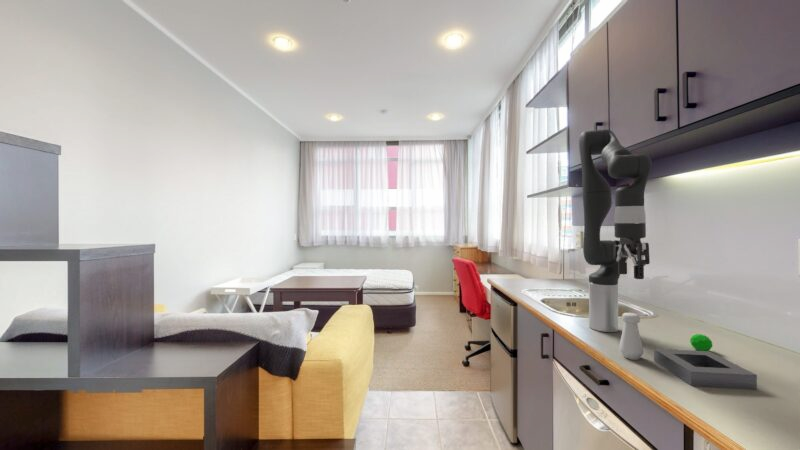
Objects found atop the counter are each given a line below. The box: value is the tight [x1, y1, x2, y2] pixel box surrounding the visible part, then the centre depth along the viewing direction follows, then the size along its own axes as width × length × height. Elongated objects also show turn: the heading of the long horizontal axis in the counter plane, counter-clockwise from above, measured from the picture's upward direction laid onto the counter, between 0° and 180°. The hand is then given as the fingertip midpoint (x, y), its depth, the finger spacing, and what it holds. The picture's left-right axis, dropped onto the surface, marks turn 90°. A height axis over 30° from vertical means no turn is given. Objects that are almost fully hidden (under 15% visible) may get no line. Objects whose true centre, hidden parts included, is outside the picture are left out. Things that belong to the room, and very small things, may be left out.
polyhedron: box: [689, 333, 713, 351], centre depth 98 cm, size 5×5×5 cm
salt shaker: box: [619, 312, 644, 361], centre depth 94 cm, size 6×6×13 cm
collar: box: [653, 348, 758, 391], centre depth 84 cm, size 14×14×4 cm
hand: (630, 276), depth 94 cm, fingers open, 8 cm apart
